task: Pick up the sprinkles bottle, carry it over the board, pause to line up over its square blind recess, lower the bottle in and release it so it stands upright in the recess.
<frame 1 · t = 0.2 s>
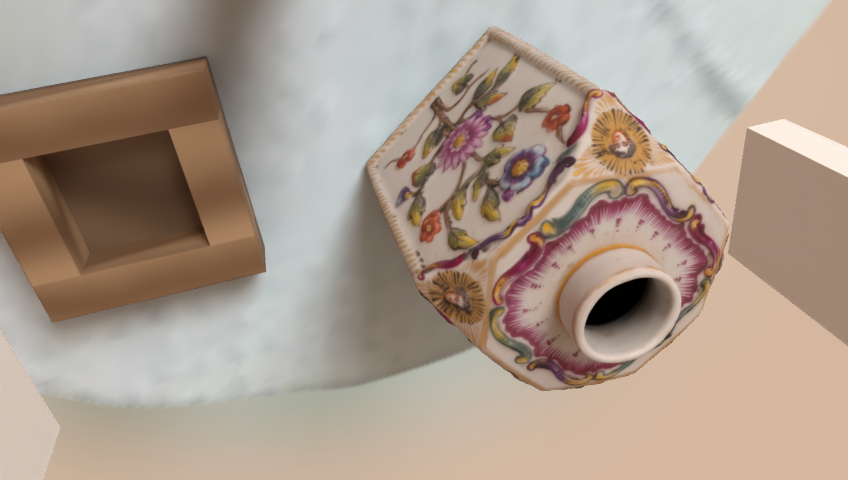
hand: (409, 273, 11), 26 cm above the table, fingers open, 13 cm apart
socket board: (131, 182, 36), on the table
decorative jar: (485, 151, 40), on the table
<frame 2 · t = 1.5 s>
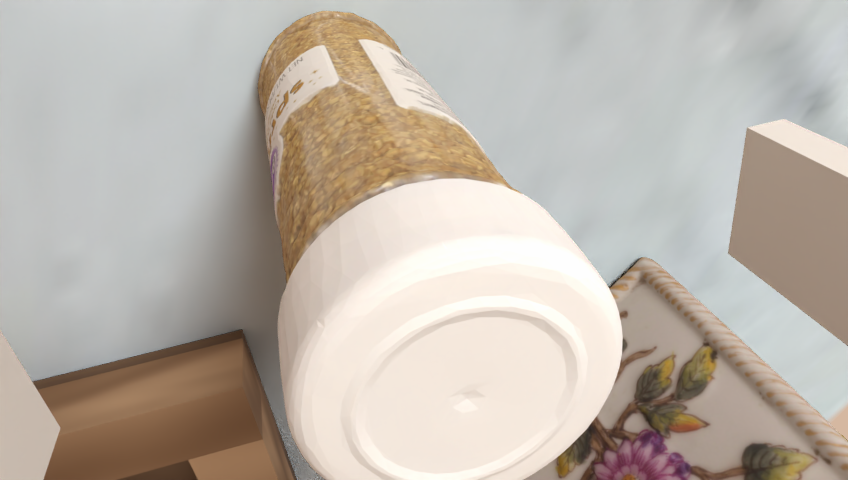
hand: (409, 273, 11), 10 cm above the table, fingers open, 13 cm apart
decorative jar: (612, 391, 30), on the table
sprinkles bottle: (334, 85, 19), on the table
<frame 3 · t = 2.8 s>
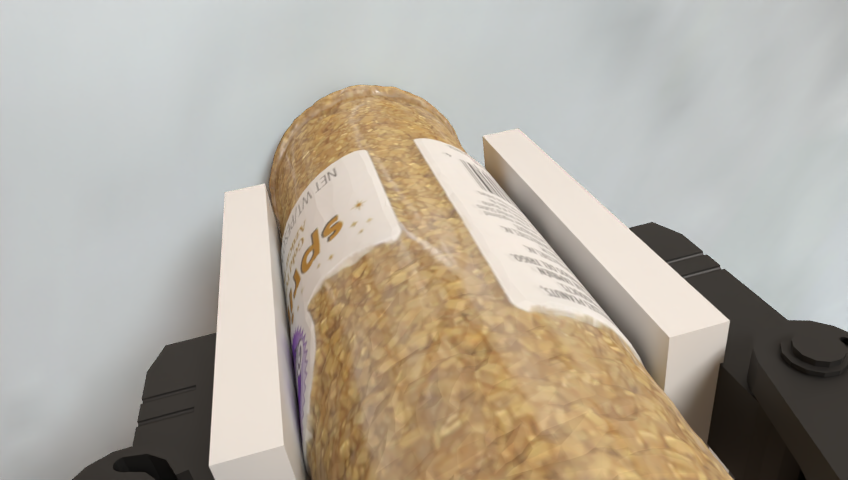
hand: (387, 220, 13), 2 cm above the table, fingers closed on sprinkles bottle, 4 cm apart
sprinkles bottle: (367, 174, 15), on the table, touching gripper
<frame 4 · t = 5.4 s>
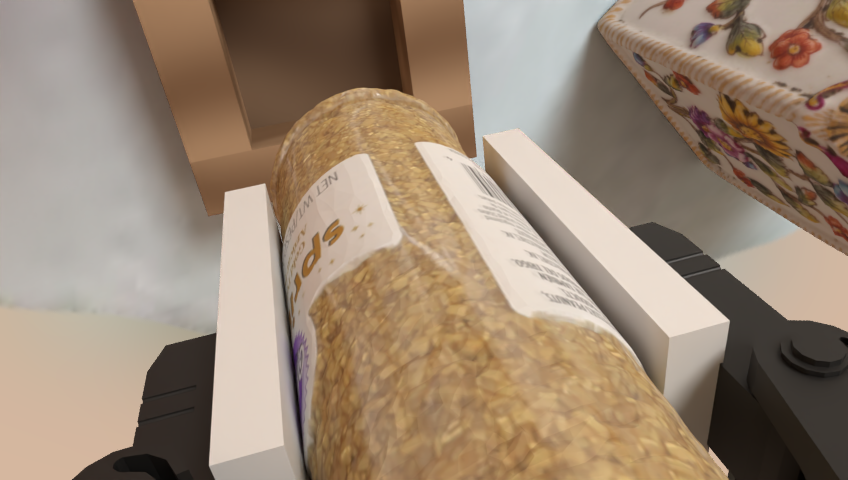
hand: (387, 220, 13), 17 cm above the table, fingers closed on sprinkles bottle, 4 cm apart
socket board: (310, 32, 27), on the table
decorative jar: (734, 15, 32), on the table
sprinkles bottle: (368, 176, 15), point 15 cm above the table, touching gripper
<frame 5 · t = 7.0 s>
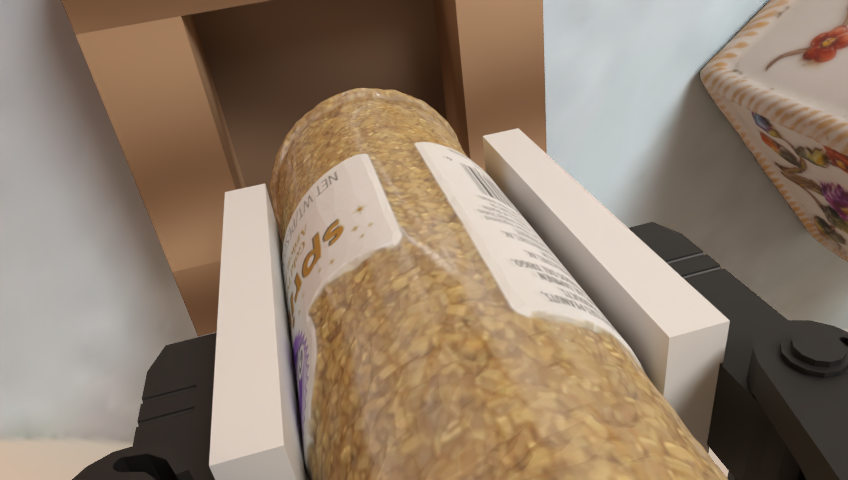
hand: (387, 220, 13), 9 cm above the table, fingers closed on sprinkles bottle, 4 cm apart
socket board: (333, 90, 20), on the table
sprinkles bottle: (368, 176, 15), point 7 cm above the table, touching gripper
when the fingers open (4 cm above the table, at t = 8.2 s): sprinkles bottle drops 1 cm, resting on socket board.
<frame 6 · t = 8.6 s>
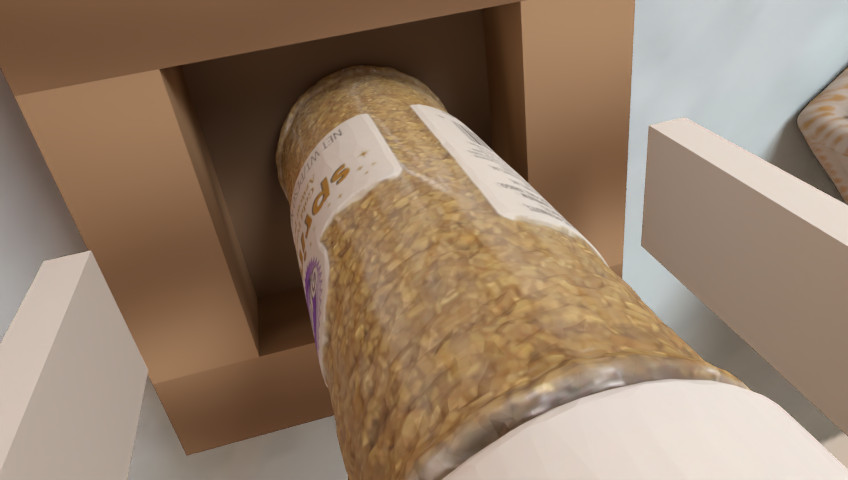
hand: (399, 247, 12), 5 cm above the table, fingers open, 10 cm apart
socket board: (356, 147, 16), on the table
sprinkles bottle: (366, 151, 16), resting on socket board
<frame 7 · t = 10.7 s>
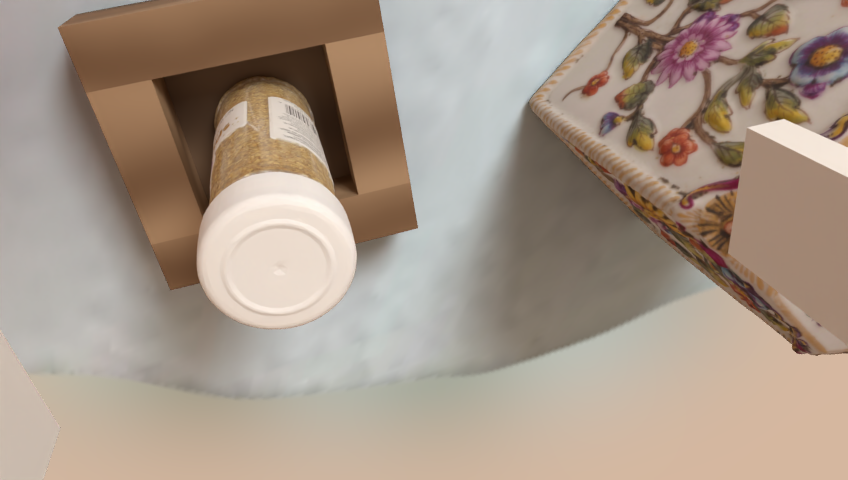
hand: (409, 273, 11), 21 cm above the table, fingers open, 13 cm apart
socket board: (261, 120, 30), on the table
decorative jar: (660, 87, 34), on the table
sprinkles bottle: (266, 121, 29), resting on socket board
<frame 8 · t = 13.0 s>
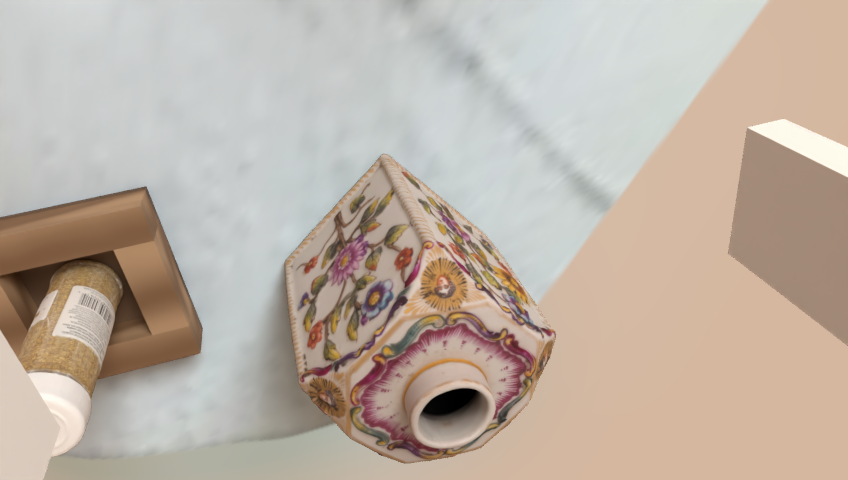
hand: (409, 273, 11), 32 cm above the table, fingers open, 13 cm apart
socket board: (87, 282, 44), on the table
decorative jar: (388, 246, 48), on the table
sprinkles bottle: (89, 284, 43), resting on socket board
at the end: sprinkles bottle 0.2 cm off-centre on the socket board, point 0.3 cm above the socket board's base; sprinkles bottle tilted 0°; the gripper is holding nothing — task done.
